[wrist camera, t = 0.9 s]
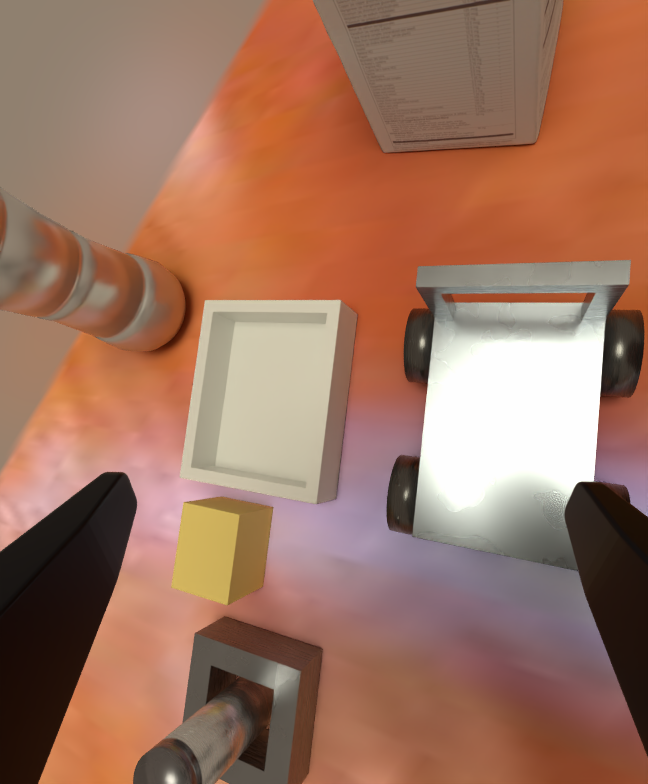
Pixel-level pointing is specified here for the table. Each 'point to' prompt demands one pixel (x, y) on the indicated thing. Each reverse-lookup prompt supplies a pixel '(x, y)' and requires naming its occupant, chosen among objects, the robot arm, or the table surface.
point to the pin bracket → (271, 669)
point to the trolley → (511, 403)
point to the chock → (222, 548)
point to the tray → (271, 397)
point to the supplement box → (447, 68)
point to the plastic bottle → (84, 282)
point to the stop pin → (209, 737)
